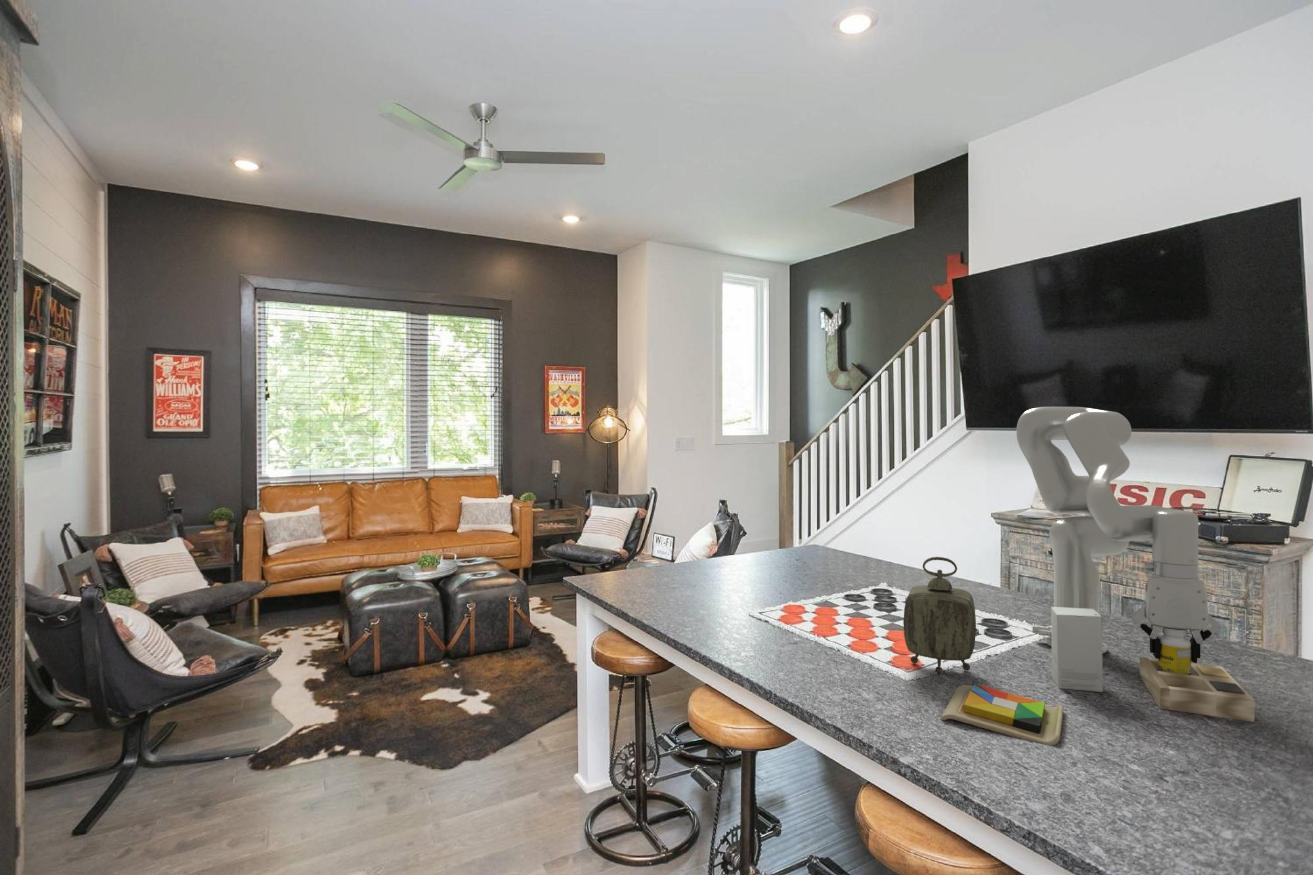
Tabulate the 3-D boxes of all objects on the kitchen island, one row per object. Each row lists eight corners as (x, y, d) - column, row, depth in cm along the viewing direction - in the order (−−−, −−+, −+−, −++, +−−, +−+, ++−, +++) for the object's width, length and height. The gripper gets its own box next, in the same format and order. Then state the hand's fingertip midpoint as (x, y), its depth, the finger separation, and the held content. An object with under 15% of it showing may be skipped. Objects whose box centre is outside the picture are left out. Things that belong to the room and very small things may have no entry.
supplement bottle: (1151, 670, 143) (1152, 623, 143) (1178, 670, 143) (1178, 623, 143) (1170, 679, 138) (1170, 631, 138) (1198, 679, 138) (1198, 631, 137)
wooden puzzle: (1059, 750, 114) (1059, 729, 114) (939, 724, 125) (939, 705, 125) (1063, 713, 129) (1064, 695, 129) (955, 692, 139) (956, 675, 139)
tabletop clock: (975, 669, 151) (976, 556, 151) (975, 683, 143) (976, 563, 142) (906, 660, 157) (906, 551, 157) (902, 673, 149) (902, 558, 149)
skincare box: (1095, 682, 143) (1095, 608, 143) (1104, 694, 137) (1104, 616, 137) (1049, 677, 146) (1050, 605, 146) (1056, 689, 140) (1057, 612, 140)
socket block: (1160, 708, 130) (1160, 685, 130) (1139, 675, 147) (1139, 655, 147) (1254, 721, 124) (1254, 698, 124) (1221, 686, 141) (1221, 665, 141)
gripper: (1128, 570, 140) (1127, 658, 141) (1233, 578, 133) (1233, 671, 133) (1121, 564, 147) (1121, 648, 147) (1221, 570, 140) (1221, 659, 140)
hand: (1174, 658), depth 140 cm, fingers closed on supplement bottle, 5 cm apart
